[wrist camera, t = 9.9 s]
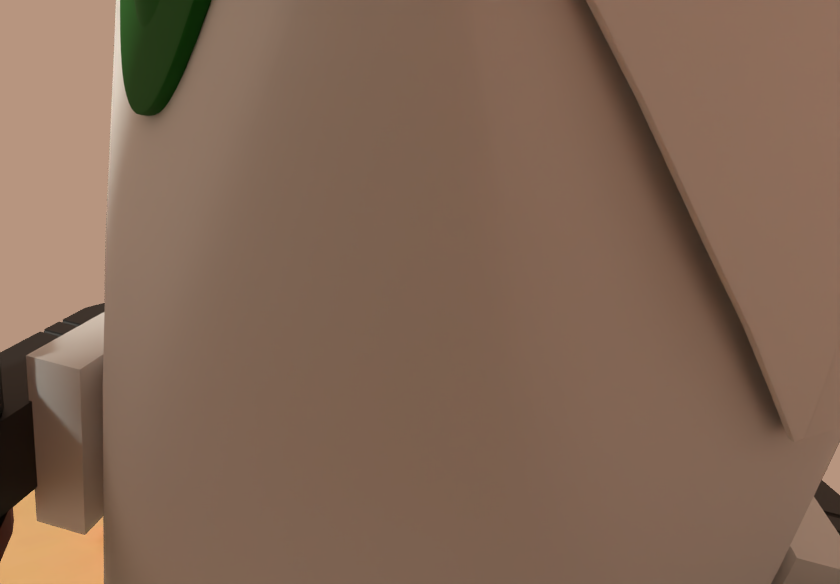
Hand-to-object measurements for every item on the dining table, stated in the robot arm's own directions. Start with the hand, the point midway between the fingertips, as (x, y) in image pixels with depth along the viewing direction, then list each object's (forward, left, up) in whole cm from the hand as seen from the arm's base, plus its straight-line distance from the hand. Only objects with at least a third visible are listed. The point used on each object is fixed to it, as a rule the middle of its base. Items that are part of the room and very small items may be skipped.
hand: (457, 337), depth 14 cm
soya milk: (-1, +4, -11) cm, 12 cm away
